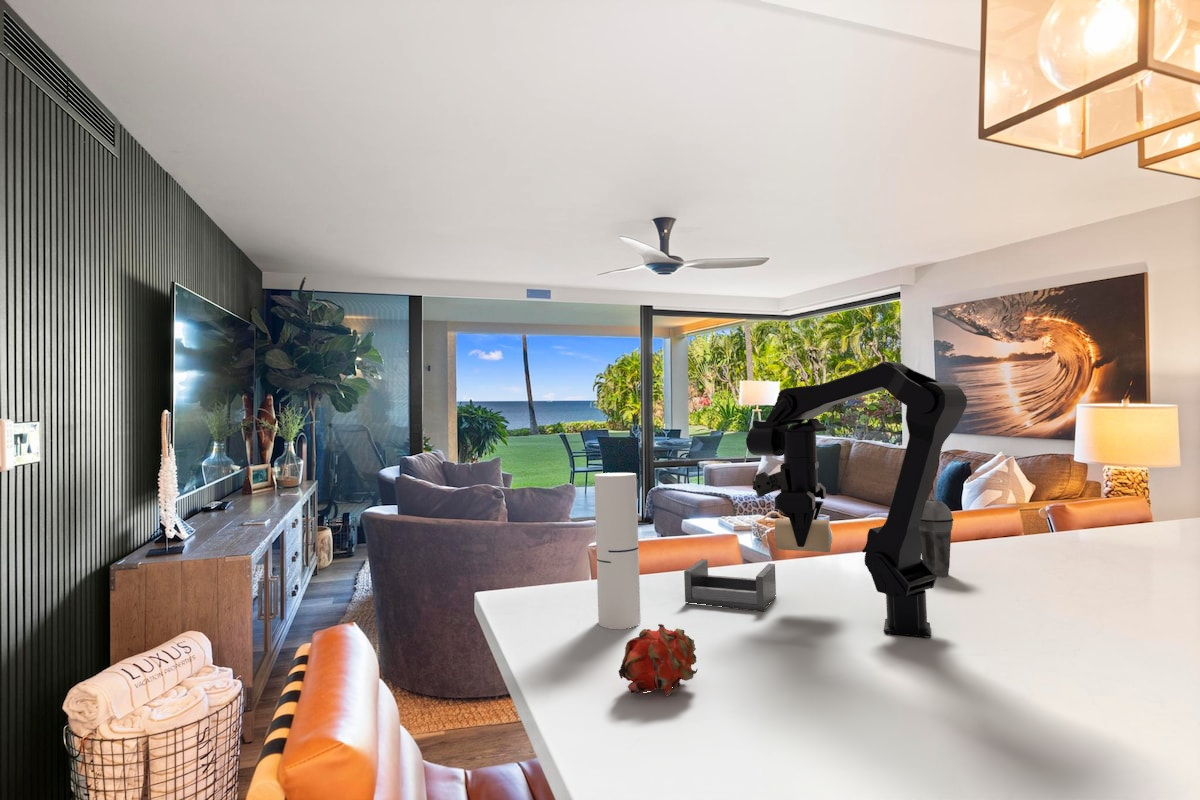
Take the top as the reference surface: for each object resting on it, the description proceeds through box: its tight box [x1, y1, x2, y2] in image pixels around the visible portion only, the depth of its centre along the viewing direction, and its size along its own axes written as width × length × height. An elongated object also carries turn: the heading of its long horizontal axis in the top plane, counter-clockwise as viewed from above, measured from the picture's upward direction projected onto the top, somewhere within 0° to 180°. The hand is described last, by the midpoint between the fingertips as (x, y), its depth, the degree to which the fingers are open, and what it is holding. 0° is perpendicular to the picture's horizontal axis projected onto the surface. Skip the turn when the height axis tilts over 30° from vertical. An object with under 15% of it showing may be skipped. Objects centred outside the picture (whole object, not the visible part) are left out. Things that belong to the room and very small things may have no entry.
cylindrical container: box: [593, 472, 642, 630], centre depth 112 cm, size 7×7×25 cm
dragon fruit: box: [618, 623, 699, 696], centre depth 84 cm, size 8×8×12 cm
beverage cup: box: [919, 478, 954, 578], centre depth 139 cm, size 7×7×20 cm
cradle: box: [683, 558, 777, 612], centre depth 124 cm, size 14×11×6 cm
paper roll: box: [773, 518, 833, 553], centre depth 120 cm, size 10×6×6 cm, turn 64°
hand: (803, 543), depth 120 cm, fingers closed on paper roll, 6 cm apart
